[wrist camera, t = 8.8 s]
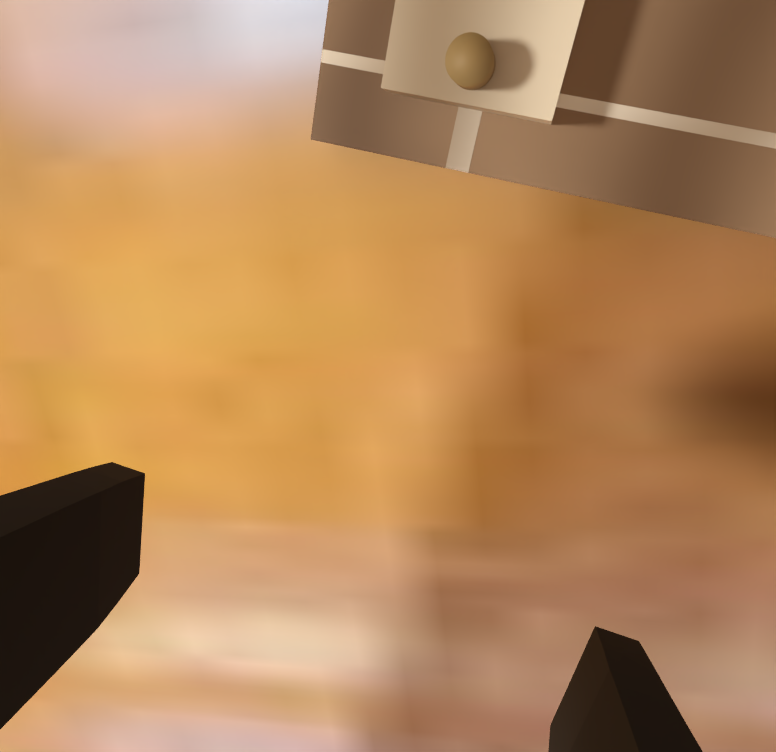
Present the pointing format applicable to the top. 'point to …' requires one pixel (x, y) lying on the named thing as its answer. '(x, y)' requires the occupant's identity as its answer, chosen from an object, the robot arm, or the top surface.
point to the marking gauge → (482, 53)
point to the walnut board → (592, 110)
